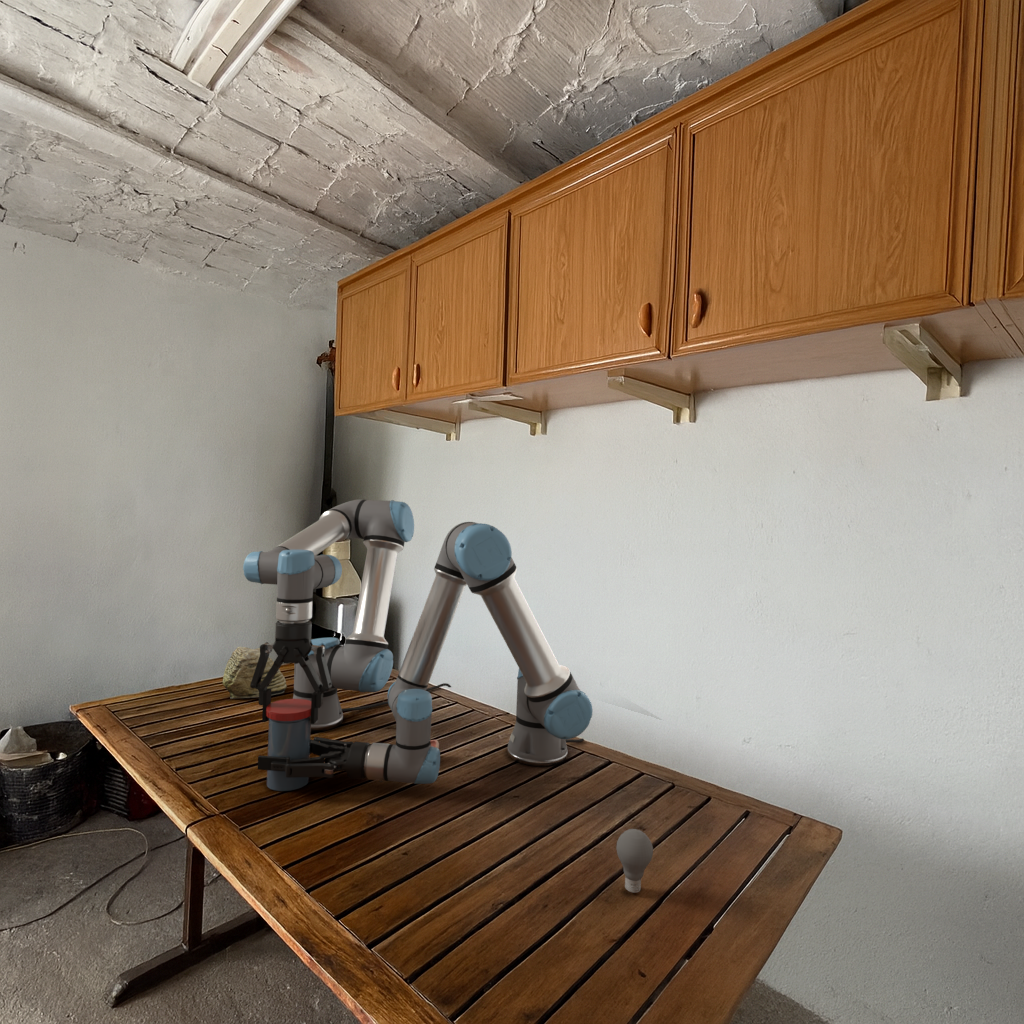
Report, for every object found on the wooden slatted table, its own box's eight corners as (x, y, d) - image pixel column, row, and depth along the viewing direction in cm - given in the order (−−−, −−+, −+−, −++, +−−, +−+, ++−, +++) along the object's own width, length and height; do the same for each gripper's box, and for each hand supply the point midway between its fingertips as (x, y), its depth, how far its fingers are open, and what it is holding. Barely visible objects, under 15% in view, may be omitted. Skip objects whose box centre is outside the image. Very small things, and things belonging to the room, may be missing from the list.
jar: (288, 794, 134) (291, 719, 134) (257, 785, 138) (260, 712, 137) (317, 778, 142) (320, 707, 142) (287, 770, 146) (289, 701, 145)
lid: (287, 724, 133) (287, 716, 133) (255, 714, 138) (256, 707, 138) (324, 712, 141) (324, 704, 141) (293, 702, 147) (293, 695, 147)
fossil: (218, 695, 195) (220, 647, 195) (278, 685, 208) (279, 640, 207) (228, 703, 189) (230, 653, 188) (289, 692, 201) (290, 645, 201)
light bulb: (610, 879, 108) (613, 822, 108) (644, 879, 109) (647, 822, 109) (619, 902, 102) (622, 840, 102) (655, 901, 103) (658, 840, 103)
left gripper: (235, 621, 136) (231, 724, 136) (340, 625, 135) (336, 729, 136) (250, 614, 143) (246, 712, 143) (349, 619, 143) (345, 717, 143)
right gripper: (352, 801, 128) (244, 792, 129) (381, 758, 149) (288, 751, 151) (353, 764, 128) (245, 756, 129) (382, 726, 149) (289, 720, 151)
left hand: (290, 720), depth 140 cm, fingers closed on lid, 10 cm apart
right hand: (268, 753), depth 140 cm, fingers closed on jar, 9 cm apart
